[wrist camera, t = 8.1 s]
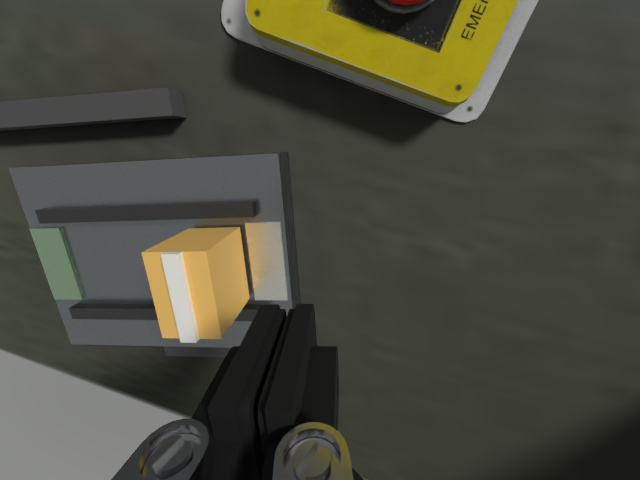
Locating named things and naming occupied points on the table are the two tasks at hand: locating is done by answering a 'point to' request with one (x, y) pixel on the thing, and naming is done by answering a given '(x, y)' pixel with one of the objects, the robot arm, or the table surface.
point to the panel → (155, 236)
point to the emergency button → (393, 44)
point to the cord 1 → (92, 109)
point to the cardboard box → (198, 282)
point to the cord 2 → (196, 351)
